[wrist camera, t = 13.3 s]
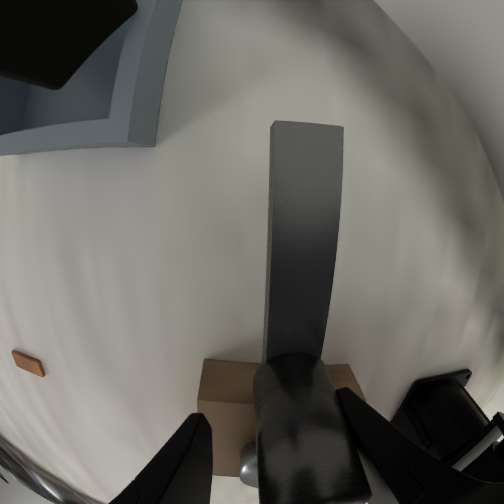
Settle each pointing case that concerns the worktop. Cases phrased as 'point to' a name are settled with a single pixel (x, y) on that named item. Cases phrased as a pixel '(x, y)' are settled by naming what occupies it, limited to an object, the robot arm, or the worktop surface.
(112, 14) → the battery
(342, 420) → the crank
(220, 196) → the worktop surface
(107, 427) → the worktop surface
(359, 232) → the worktop surface
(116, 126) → the tray
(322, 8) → the worktop surface
